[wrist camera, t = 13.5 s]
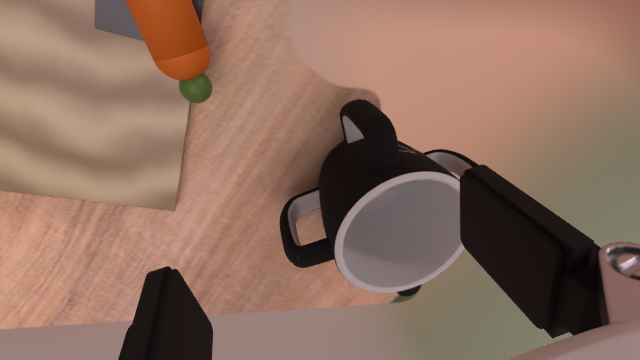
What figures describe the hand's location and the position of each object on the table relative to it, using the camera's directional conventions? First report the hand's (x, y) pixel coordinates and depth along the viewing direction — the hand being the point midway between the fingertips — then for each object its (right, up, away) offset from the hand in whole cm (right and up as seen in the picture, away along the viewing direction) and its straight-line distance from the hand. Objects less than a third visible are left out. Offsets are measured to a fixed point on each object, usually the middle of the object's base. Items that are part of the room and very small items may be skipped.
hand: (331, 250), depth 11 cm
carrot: (-12, +16, +14) cm, 24 cm away
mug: (+4, +3, +27) cm, 27 cm away
